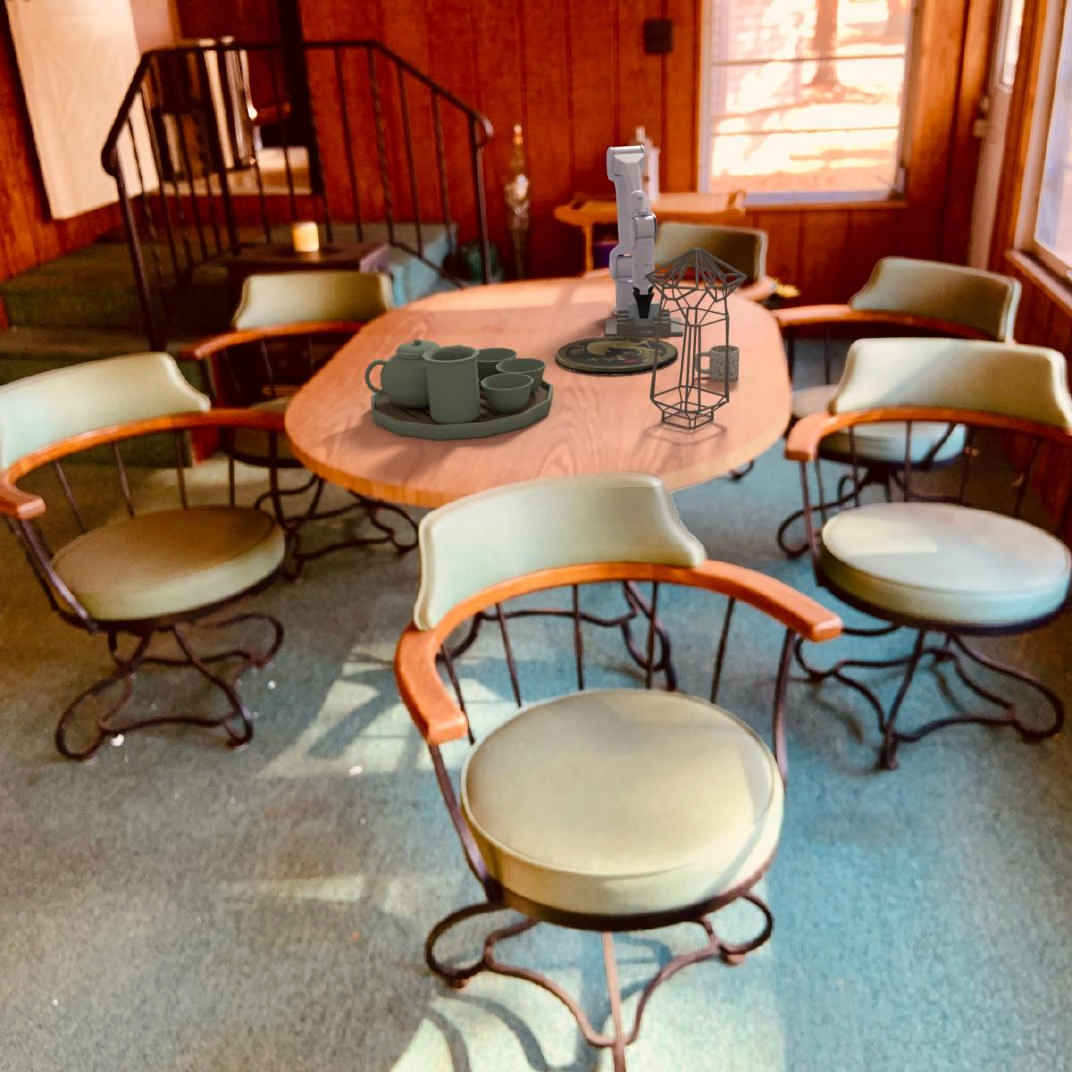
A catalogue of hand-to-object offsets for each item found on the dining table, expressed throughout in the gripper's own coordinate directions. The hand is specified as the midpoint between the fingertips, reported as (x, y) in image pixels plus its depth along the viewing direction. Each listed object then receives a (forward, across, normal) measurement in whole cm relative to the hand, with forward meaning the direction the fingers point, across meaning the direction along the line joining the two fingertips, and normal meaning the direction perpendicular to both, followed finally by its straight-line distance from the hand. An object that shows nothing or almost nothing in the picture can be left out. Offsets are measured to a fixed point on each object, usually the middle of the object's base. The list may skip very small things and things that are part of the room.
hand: (643, 315), depth 284 cm
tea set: (+4, +61, -40) cm, 73 cm away
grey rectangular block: (+3, 0, 0) cm, 3 cm away
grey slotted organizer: (+4, 0, 0) cm, 4 cm away
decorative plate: (+4, +25, -7) cm, 26 cm away
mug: (+4, +43, +16) cm, 46 cm away
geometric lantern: (+4, +72, +9) cm, 73 cm away
